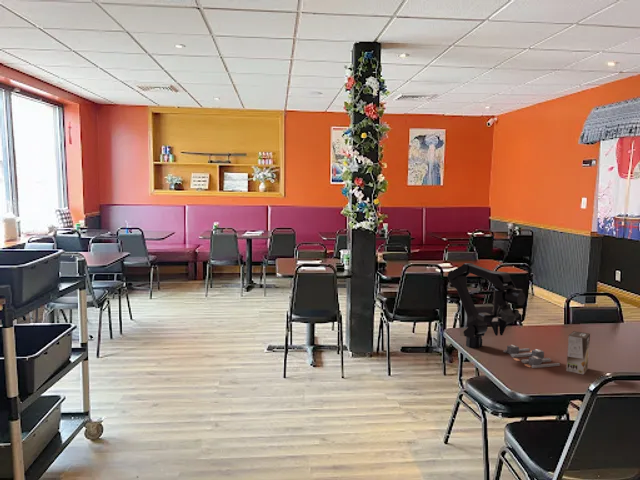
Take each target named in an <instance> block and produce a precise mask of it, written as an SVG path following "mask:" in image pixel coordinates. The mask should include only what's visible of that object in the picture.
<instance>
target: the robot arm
mask: <svg viewBox="0 0 640 480" xmlns="http://www.w3.org/2000/svg"><path fill="white" fill-rule="evenodd" d="M469 275H475V276H476V277H479V278H481V279H482V278H483V279H485V280H487V281H488V282H489V283H490V284H492V286H491V287H489V290H492V291H493V301H492V302H491V305H492V306H493V307H492V310H491V311H490V312H491V313H489V312H478V310H477V308H476V306H475V303H474V300H473V299H472V296H471V293H470V291H469V289H468V286H467V283H468V278H467V277H468V276H469ZM447 279H448V282H449V283H450V285H451V286H452V287H454V289H455V290H456V291H457V294H458V296H459V299H460V302H461V303H462V307H463V308H464V311H465V314H466V317H467V321H466V323H467V324H466V325H467V328H465V330H464V331H463V332H462V333H463V336H464V337H465V347H467V348H469V349H470V348H471V349H479V348H481V347H483V339H482V338H483V337H484V336H485V335H486V332H487V331H488V327H489V326H488V323H490V326H491V328H492V331H493V333H494V335H495V337H496V336H498V334H499V336H503V335H504V332H505V330H506V328H507V326H508V324H510V323H513V322H515V321H522V320H523V316H522V313H520V311H519V310H518V309H517V308H515V309H510V304H512V305H517V306H524V304H525V303H526V294H525V293H524V289H522V288H517V287H516V285H515V283H514V281H513V280H512V278H511V275H510V274H509V272H507V271H499V270H498V271H495V270H490V269H487V268H485V267H482V266H479V265H477V264H474V263H472V262H469V263H463V264H462V265H461V266H458V267H457V268H455V269H452V270H449V271H448V272H447Z"/></svg>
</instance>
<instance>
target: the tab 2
mask: <svg viewBox="0 0 640 480" xmlns="http://www.w3.org/2000/svg"><path fill="white" fill-rule="evenodd" d="M531 351H532V356H530V357H533V356H538V357H540V358H545V350H542V349H537V348H535V349H532V350H531Z"/></svg>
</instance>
